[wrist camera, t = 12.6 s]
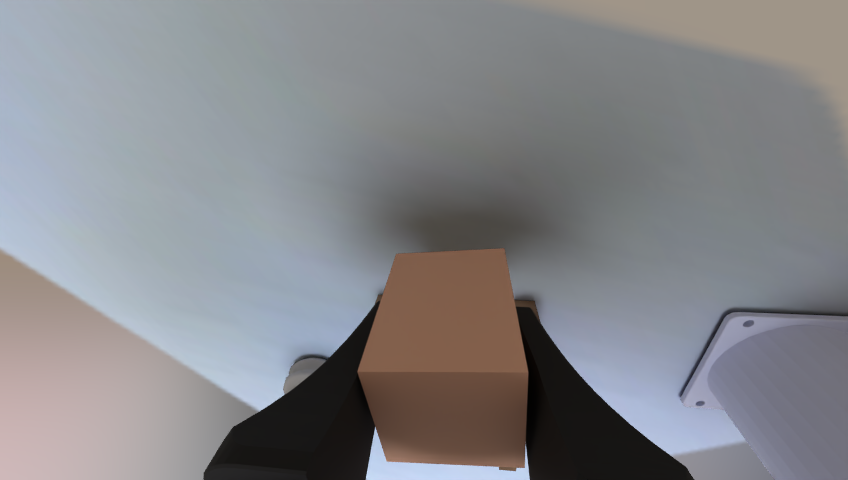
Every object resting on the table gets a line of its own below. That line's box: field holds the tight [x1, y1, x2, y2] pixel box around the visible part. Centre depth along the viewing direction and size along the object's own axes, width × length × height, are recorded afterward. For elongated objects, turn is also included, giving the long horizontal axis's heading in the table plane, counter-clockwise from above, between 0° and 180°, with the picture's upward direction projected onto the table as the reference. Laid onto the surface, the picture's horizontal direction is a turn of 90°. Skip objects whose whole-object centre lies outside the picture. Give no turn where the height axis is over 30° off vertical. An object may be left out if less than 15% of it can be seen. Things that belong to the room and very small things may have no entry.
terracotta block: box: [357, 248, 528, 468], centre depth 12 cm, size 4×4×6 cm
